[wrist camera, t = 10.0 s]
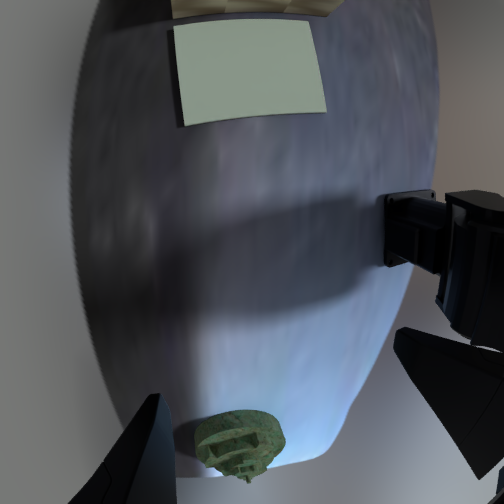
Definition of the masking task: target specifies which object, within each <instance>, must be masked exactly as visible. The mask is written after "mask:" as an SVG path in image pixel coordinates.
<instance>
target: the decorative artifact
mask: <svg viewBox="0 0 504 504" xmlns="http://www.w3.org/2000/svg"><path fill="white" fill-rule="evenodd" d="M194 439H195V451H196V456H197V458H198V459H199V460H200V461H201V462H202V463H204V464H205V466H206V468H211V467H214V468H215V469H216V470H218V471H220V472H222V474H223V475H224V476H229V475H234V476H237V477H238V478H239V479H243V480H246V482H247V483H251V479H252V478H253V477H255V476H258V475H260V474H262V473H264V472H265V471H267V468H266V466H268V465H269V464H270V463H271V462H272V461H273V459H274V457H276V456H277V455H278V454H279V453H280V452H281V451H282V450H283V448H284V447H285V443H286V441H285V437H284V435H283V432H282V429H281V426H280V424H279V421H278V420H277V419H276V418H275V417H274V416H273V415H271V414H269V413H266V412H262V411H257V410H235V411H229V412H225V413H221V414H218V415H215V416H213V417H211V418H209V419H207V420H205V421H204V422H202V423H201V424H200V425H199V426H198V427H197V429H196V430H195V434H194Z"/></svg>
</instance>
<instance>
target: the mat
mask: <svg viewBox="0 0 504 504" xmlns="http://www.w3.org/2000/svg"><path fill="white" fill-rule="evenodd" d="M174 37H175V48H176V58H177V68H178V77H179V85H180V93H181V101H182V109H183V116H184V124H185V126H191V125H196V124H202V123H208V122H215V121H222V120H229V119H238V118H246V117H256V116H268V115H282V114H302V113H326V112H327V110H326V104H325V98H324V92H323V87H322V81H321V76H320V71H319V66H318V61H317V56H316V52H315V47H314V43H313V39H312V34H311V30H310V26H309V23H308V21H297V20H280V19H239V20H222V21H210V22H201V23H193V24H186V25H179V26H174Z"/></svg>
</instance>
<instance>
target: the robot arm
mask: <svg viewBox="0 0 504 504" xmlns="http://www.w3.org/2000/svg"><path fill="white" fill-rule="evenodd" d="M390 198H391V201H390V202H389V199H390ZM445 201H446V203H442V202H438V201H436V193H435V191H434V190H430V189H429V190H419V191H411V192H402V193H393V194H387V195H386V196H385V198H384V209H385V246H384V264H385V265H386V266H387V267H393V266H397V265H400V264H403V263H407V262H410V263H412V264H414V265H417V266H419V267H421V268H423V269H424V270H426V271H428V272H430V273H432V274H436V275H438V276H440V282H439V289H438V294H437V295H436V300H435V302H436V304H437V305H438V306H439V307H440V309H441V310H442V312H443V313H444V314H445V316H446V317H447V319H448V320H449V321H450V323H451V324H450V327H451V328H452V329H453V330H454V331H456V332H457V333H458V334H460V335H461V336H463V337H465V338H467V339H470V340H471V341H470V344H471V345H468V344H464V343H461V342H457V341H453V340H450V339H446V338H442V337H439V336H436V335H432V334H428V333H425V332H422V331H418V330H415V329H411V328H408V327H403V328H401V329H398V330H397V331H396V333H395V339H394V345H393V349H394V352H395V353H396V355H397V357H398V358H399V360H400V362H401V364H402V365H403V367H404V369H405V370H406V372H407V374H408V376H409V377H410V379H411V380H412V382H413V383H414V384H415V386H416V387H417V389H418V390H419V391H420V393H421V394H422V396H423V397H424V398H425V400H426V401H427V403H428V404H429V405H430V407H431V408H432V410H433V411H434V412H435V414H436V415H437V417H438V418H439V420H440V421H441V423H442V424H443V426H444V427H445V429H446V430H447V432H448V433H449V435H450V436H451V437H452V439H453V441H454V442H455V443H456V445H457V446H458V448H459V450H460V452H461V453H462V455H463V456H464V458H465V459H466V461H467V463H468V464H469V466H470V467H471V469H472V470H473V472H474V474H475V476H476V477H477V479H478V480H480V479H481V478H483V477H484V476H485V475H486V474H487V473H488V472H489V471H490V470H491V469H492V468H493V467H494V466H496V465H497V464H498V463H499V462H500V461H501V460H502V459H503V457H504V197H502V196H500V195H499V194H497V193H492V192H487V191H480V190H468V191H459V192H450V193H445ZM389 261H390V262H389ZM472 345H473V346H472ZM476 346H485V347H489V348H493V349H496V350H498V351H500V352H496V351H491V350H487V349H483V348H479V347H478V348H477V347H476ZM501 352H502V353H501ZM496 494H497V495H496V496H495V497H494V498H493V499H492V500H491V501H490V502H489V503H488V504H504V466H503V467H502V468H501V469H500V470H499V477H498V484H497V490H496ZM68 504H177V496H176V475H175V447H174V439H173V432H172V424H171V415H170V410H169V407H168V405H167V403H166V402H165V400H164V398H163V396H162V395H161V394H160V393H156V394H150V395H149V396H148V397H147V398H146V400H145V401H144V403H143V404H142V406H141V407H140V408H139V410H138V411H137V413H136V414H135V416H134V417H133V418H132V420H131V421H130V423H129V424H128V426H127V427H126V429H125V430H124V431H123V433H122V434H121V436H120V437H119V439H118V440H117V441H116V443H115V444H114V446H113V447H112V449H111V450H110V452H109V453H108V454H107V456H106V457H105V459H104V462H102V463H101V464H100V466H99V467H98V469H97V470H96V471H95V473H94V474H93V476H92V477H91V478H90V479H89V480H88V482H87V483H86V484H85V485H84V486H83V488H82V489H81V490H80V491H79V492H78V493H77V494H76V495H75V496H74V497H73V498H72V499H71V501H70V502H69V503H68Z"/></svg>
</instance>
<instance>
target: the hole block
mask: <svg viewBox="0 0 504 504" xmlns="http://www.w3.org/2000/svg"><path fill="white" fill-rule="evenodd" d="M344 1H345V0H171V5H172V14H173V19H176V18H183V17H190V16H197V15H206V14H217V13H233V12H280V13H295V14H306V15H315V16H323V17H327V16H328V15H329V14H330V13H331V12H332V11H333V10H335V9H336V8H337V7H338V6H339V5H340V4H341V3H342V2H344Z"/></svg>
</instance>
